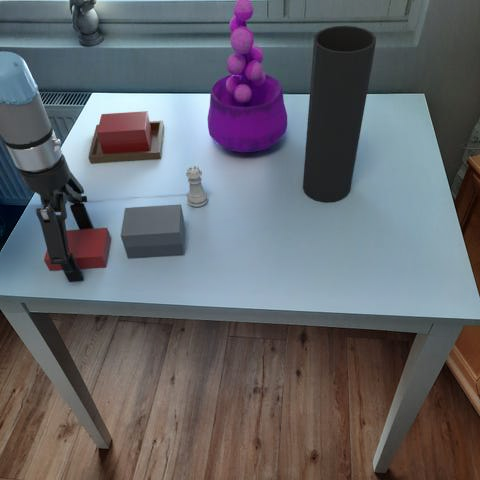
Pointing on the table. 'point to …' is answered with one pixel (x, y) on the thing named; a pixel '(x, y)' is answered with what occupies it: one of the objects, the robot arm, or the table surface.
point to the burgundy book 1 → (86, 248)
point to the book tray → (153, 154)
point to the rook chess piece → (196, 188)
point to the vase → (336, 109)
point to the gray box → (153, 231)
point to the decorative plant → (246, 94)
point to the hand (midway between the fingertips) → (82, 254)
